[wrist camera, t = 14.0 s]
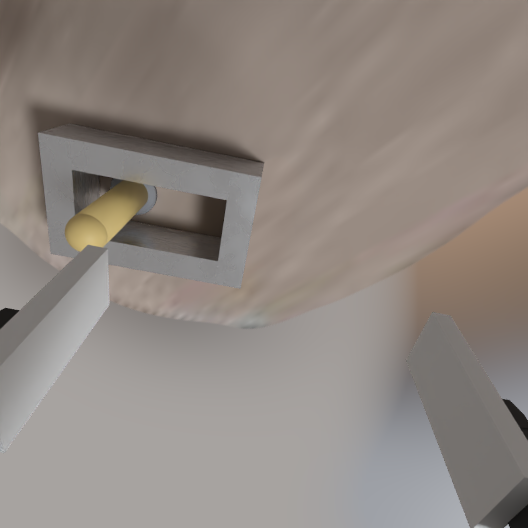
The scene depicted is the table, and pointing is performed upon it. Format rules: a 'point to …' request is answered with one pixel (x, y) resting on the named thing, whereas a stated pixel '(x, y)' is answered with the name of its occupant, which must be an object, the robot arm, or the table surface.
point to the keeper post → (109, 213)
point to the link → (156, 174)
